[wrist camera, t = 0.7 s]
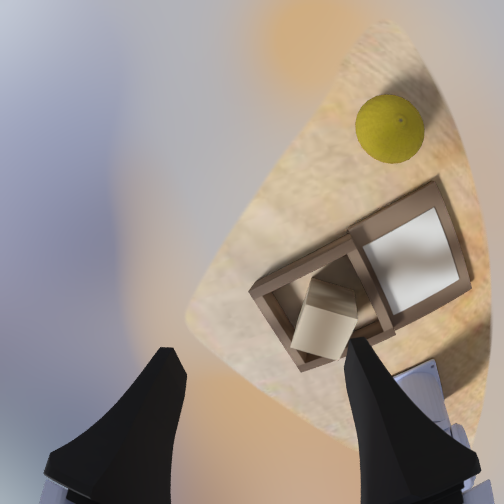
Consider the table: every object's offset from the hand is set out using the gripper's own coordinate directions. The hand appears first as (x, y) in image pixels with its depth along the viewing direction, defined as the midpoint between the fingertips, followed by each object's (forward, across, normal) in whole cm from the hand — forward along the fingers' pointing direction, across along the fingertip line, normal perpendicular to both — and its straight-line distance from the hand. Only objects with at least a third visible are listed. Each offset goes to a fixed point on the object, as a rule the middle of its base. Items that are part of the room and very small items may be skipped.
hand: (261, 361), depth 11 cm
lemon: (+18, -11, -6) cm, 22 cm away
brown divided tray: (+14, -10, +8) cm, 19 cm away
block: (+15, -5, +10) cm, 19 cm away
